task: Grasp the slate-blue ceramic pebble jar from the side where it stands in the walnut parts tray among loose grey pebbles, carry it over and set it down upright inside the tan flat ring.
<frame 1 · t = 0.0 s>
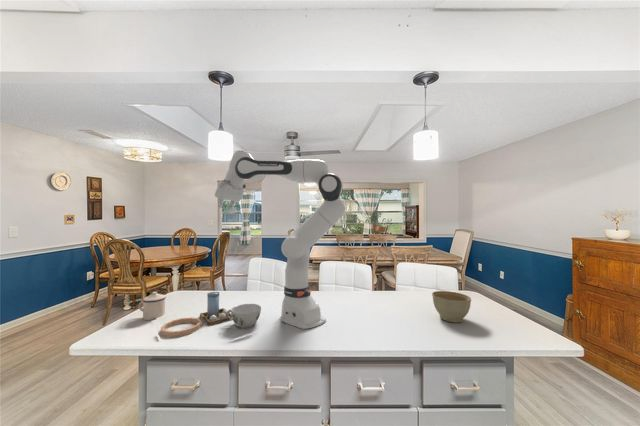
hand: (224, 208, 125), 52 cm above the table, tool tilted 20°, fingers open, 8 cm apart
pebble c: (213, 322, 110), point 1 cm above the table, touching parts tray
teacup: (243, 326, 107), on the table
teacup with lid: (151, 317, 117), on the table
tan flat ring: (181, 330, 103), on the table
planter bowl: (451, 319, 116), on the table
parts tray: (216, 319, 114), on the table
pebble b: (224, 316, 115), point 1 cm above the table, touching parts tray
pebble a: (222, 319, 112), point 1 cm above the table, touching parts tray
pebble jar: (213, 317, 115), point 1 cm above the table, touching parts tray
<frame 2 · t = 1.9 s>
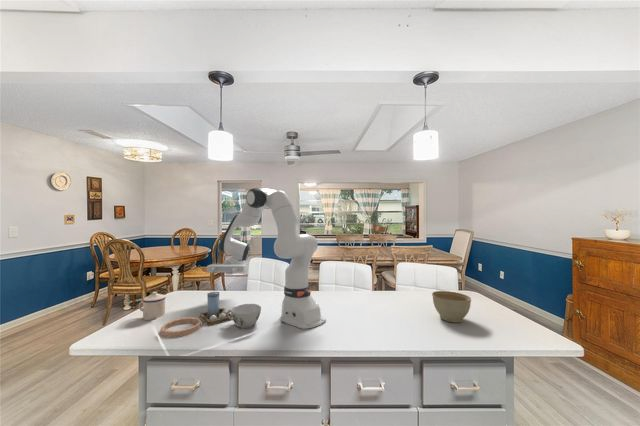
hand: (222, 271, 128), 19 cm above the table, tool horizontal, fingers open, 8 cm apart
nothing on the table moved.
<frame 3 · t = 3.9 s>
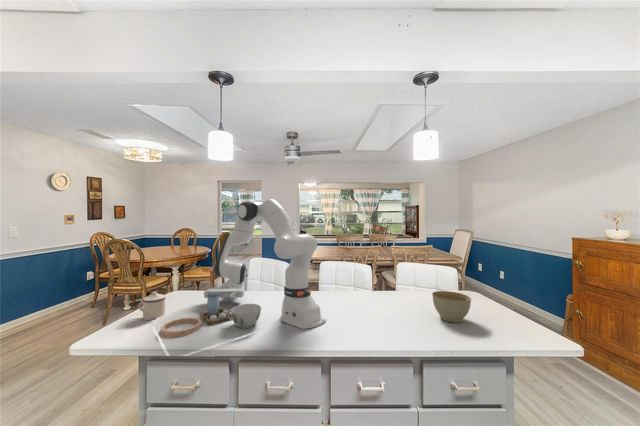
hand: (219, 297, 124), 7 cm above the table, tool horizontal, fingers open, 8 cm apart
nothing on the table moved.
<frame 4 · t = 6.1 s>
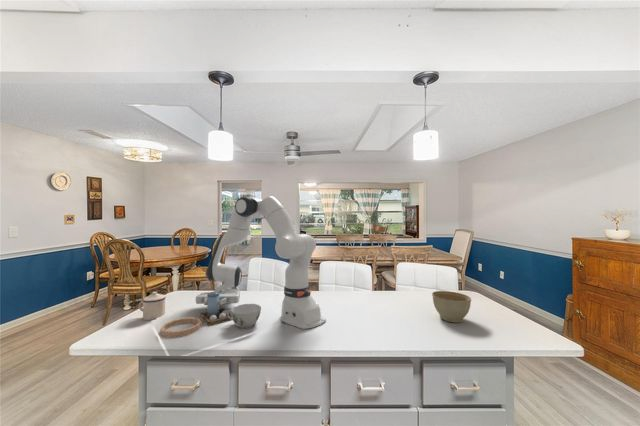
hand: (212, 303, 115), 7 cm above the table, tool horizontal, fingers closed on pebble jar, 5 cm apart
pebble jar: (213, 317, 115), point 1 cm above the table, touching gripper, parts tray
everything else where it was.
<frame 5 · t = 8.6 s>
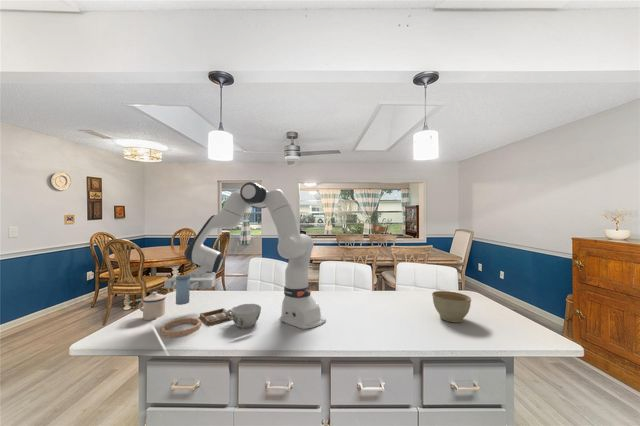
hand: (181, 287, 103), 18 cm above the table, tool horizontal, fingers closed on pebble jar, 5 cm apart
pebble jar: (182, 302, 104), point 11 cm above the table, touching gripper
everything else where it was.
when the fingers open (8 cm above the table, at t = 11.4 s): pebble jar stays where it is, resting on tan flat ring.
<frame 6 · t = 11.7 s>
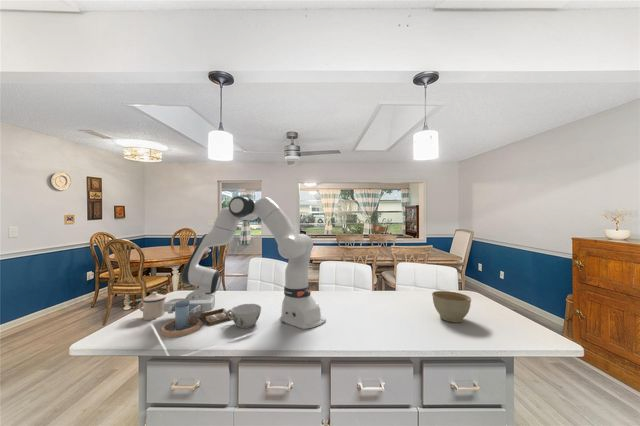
hand: (181, 311, 102), 8 cm above the table, tool horizontal, fingers open, 8 cm apart
pebble jar: (181, 329, 103), point 1 cm above the table, touching tan flat ring
everything else where it was.
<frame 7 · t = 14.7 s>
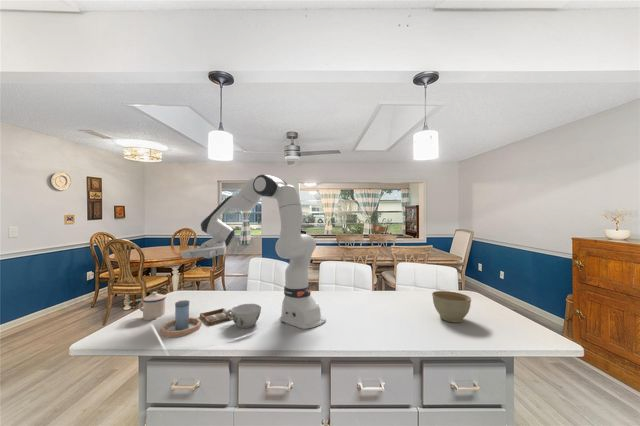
hand: (198, 255, 116), 29 cm above the table, tool horizontal, fingers open, 8 cm apart
nothing on the table moved.
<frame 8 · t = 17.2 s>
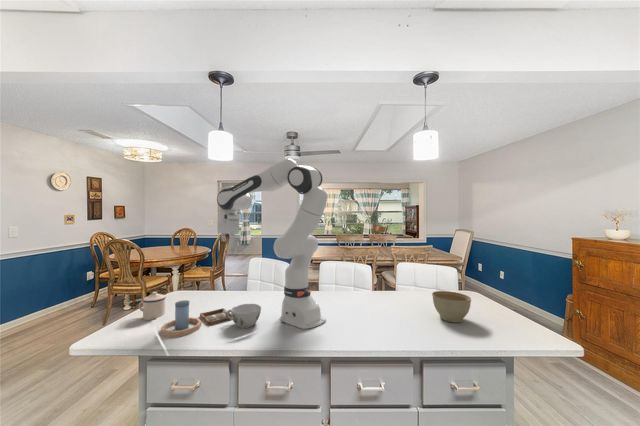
hand: (227, 242, 132), 34 cm above the table, tool pointing down, fingers open, 8 cm apart
nothing on the table moved.
at the end: pebble jar 0.1 cm from the tan flat ring (horizontally); pebble jar tilted 0°; pebble jar point 0.6 cm above the table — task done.
